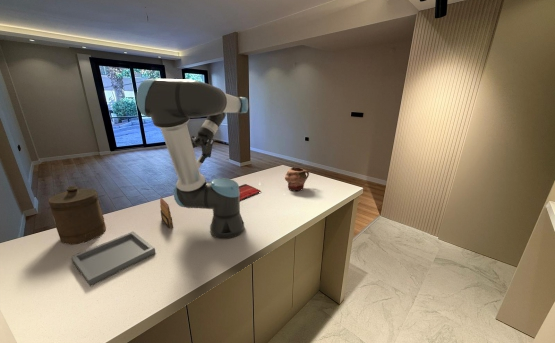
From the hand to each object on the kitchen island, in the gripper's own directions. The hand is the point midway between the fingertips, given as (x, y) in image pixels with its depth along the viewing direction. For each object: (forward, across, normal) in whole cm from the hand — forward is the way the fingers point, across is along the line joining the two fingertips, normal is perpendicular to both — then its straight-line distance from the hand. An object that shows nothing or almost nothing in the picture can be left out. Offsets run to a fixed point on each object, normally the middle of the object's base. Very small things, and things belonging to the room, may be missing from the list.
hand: (186, 165), depth 107 cm
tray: (+44, -5, +9) cm, 46 cm away
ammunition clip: (+28, +1, -9) cm, 29 cm away
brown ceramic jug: (-25, -31, -63) cm, 74 cm away
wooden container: (+44, +22, +9) cm, 50 cm away
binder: (-5, -6, -43) cm, 44 cm away
